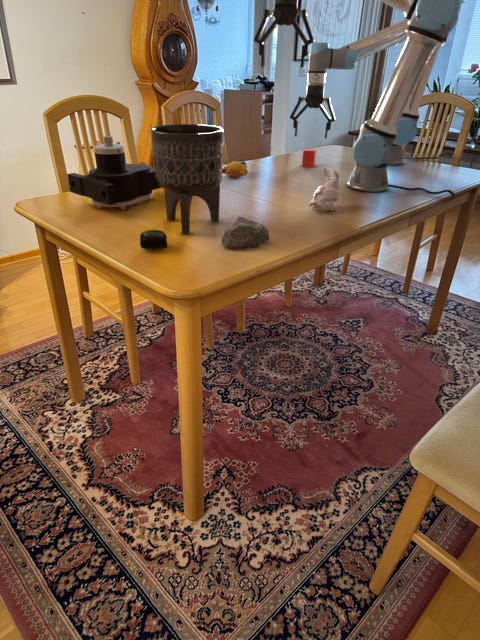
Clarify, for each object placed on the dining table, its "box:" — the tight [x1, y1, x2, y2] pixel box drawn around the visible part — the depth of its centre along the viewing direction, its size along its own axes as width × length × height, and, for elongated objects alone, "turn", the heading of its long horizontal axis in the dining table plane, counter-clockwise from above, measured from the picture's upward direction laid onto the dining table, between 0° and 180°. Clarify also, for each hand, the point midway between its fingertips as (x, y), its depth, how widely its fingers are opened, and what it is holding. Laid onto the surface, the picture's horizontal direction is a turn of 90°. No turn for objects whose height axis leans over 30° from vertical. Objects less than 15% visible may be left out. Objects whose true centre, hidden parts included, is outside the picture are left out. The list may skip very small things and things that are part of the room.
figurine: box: [308, 167, 340, 211], centre depth 148 cm, size 8×15×13 cm, turn 145°
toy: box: [222, 160, 249, 178], centre depth 190 cm, size 11×6×15 cm
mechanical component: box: [67, 135, 162, 210], centre depth 149 cm, size 22×21×30 cm
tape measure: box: [139, 229, 168, 250], centre depth 117 cm, size 7×7×4 cm
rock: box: [221, 216, 270, 250], centre depth 119 cm, size 13×9×6 cm, turn 131°
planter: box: [149, 123, 225, 235], centre depth 128 cm, size 20×20×26 cm
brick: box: [301, 148, 317, 168], centre depth 210 cm, size 6×5×7 cm
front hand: (282, 67), depth 156 cm, fingers open, 13 cm apart
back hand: (310, 137), depth 206 cm, fingers open, 13 cm apart
